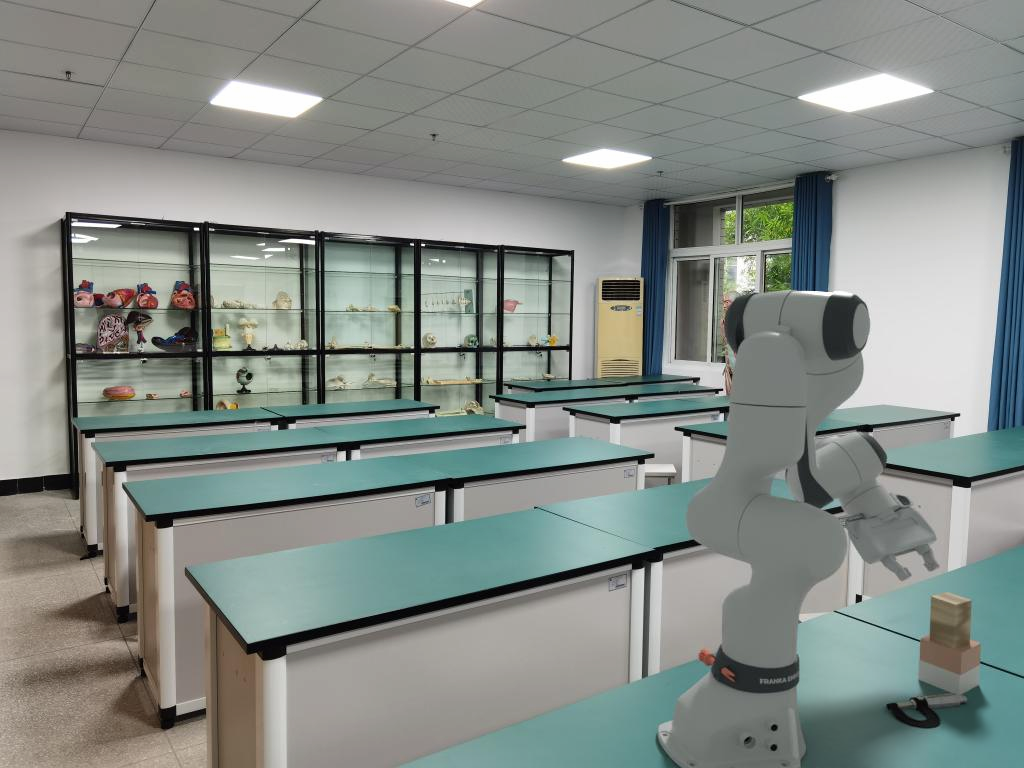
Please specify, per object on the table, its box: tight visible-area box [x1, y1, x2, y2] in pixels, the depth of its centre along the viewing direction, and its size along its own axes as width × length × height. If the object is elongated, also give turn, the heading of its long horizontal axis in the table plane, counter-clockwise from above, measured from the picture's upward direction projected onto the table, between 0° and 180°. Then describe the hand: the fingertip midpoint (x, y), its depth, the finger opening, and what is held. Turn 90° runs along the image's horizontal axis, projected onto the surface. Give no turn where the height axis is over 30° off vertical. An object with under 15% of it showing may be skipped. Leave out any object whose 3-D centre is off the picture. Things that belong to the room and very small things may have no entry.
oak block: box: [929, 591, 973, 649], centre depth 129 cm, size 4×4×8 cm
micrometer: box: [885, 692, 968, 730], centre depth 119 cm, size 15×7×2 cm, turn 99°
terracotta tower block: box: [919, 633, 982, 675], centre depth 129 cm, size 7×7×4 cm
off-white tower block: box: [917, 658, 981, 696], centre depth 130 cm, size 7×7×4 cm
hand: (921, 574), depth 133 cm, fingers open, 8 cm apart
